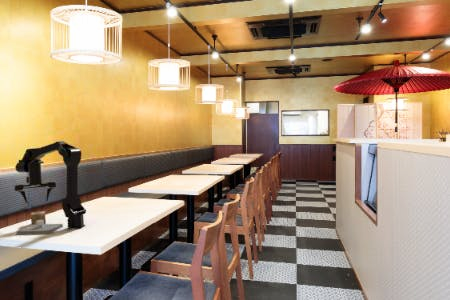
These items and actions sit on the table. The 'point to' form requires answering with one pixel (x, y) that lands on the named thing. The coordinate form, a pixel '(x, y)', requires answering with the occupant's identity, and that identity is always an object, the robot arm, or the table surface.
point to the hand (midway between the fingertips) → (36, 202)
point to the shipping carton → (37, 217)
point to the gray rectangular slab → (40, 229)
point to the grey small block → (39, 223)
